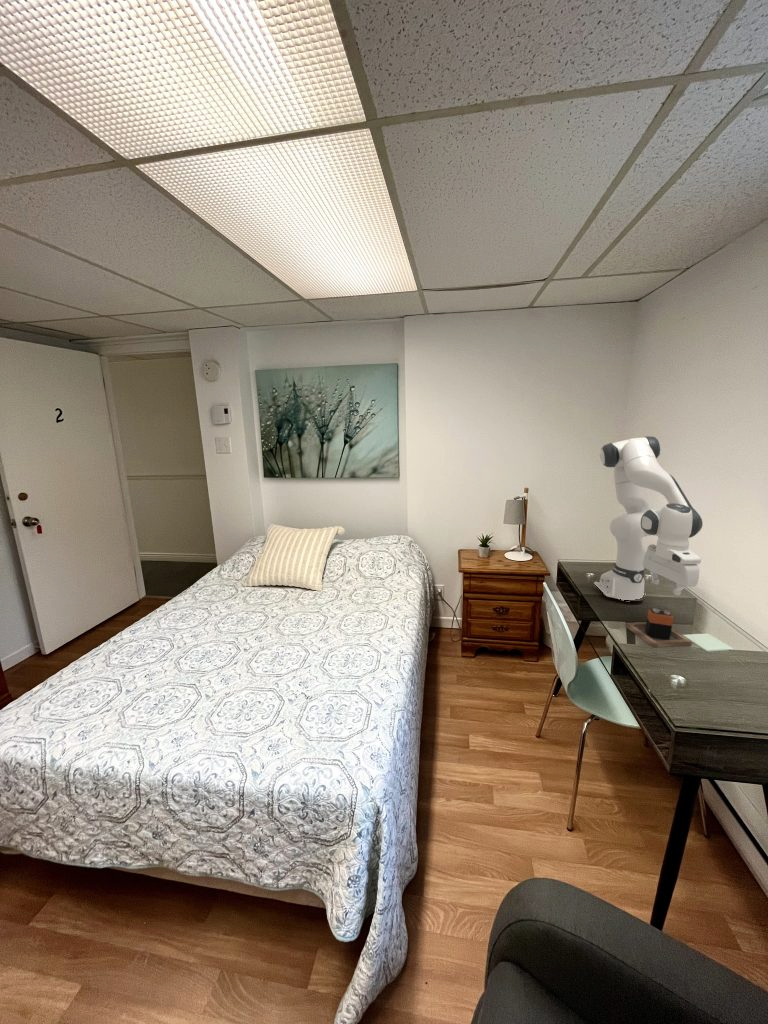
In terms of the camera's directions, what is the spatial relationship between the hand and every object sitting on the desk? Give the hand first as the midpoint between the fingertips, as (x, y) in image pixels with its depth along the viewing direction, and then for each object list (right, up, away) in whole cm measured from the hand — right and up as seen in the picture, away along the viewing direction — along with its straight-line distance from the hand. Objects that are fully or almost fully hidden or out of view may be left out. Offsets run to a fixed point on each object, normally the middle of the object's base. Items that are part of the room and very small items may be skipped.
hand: (665, 588), depth 138 cm
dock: (0, -18, +4) cm, 18 cm away
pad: (+14, -19, 0) cm, 24 cm away
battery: (0, -18, +4) cm, 19 cm away
